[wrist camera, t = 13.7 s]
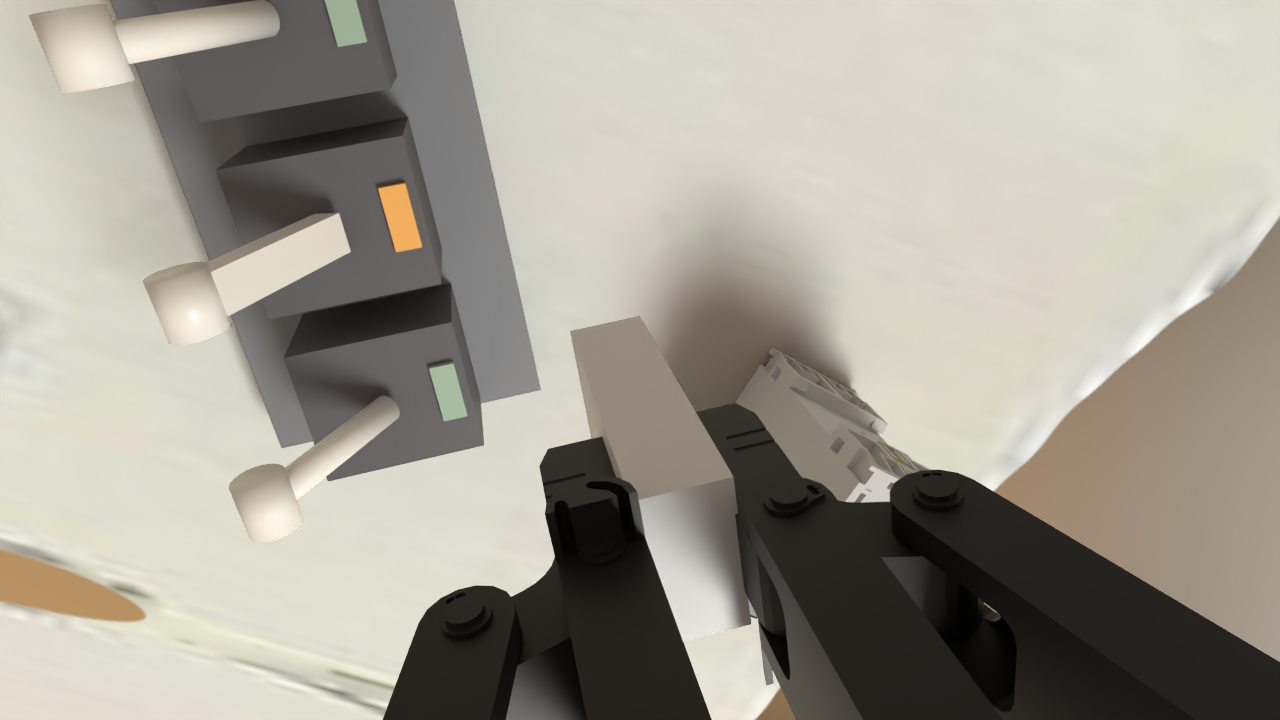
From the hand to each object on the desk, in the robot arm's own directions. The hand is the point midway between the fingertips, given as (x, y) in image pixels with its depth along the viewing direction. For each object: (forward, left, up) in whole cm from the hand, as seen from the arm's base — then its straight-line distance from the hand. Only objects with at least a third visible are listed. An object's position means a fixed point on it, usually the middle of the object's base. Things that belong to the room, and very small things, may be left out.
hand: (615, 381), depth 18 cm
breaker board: (+9, +1, -32) cm, 34 cm away
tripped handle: (+9, +1, -23) cm, 25 cm away
